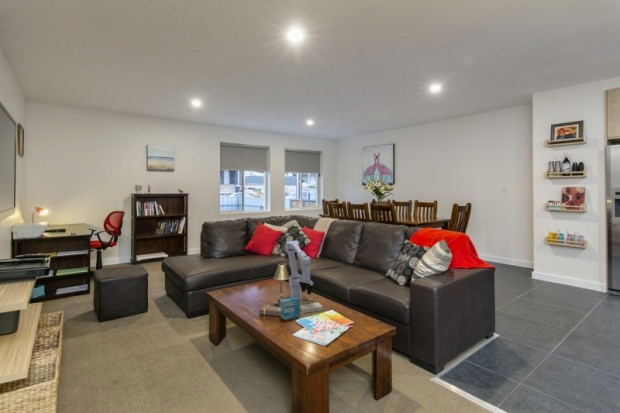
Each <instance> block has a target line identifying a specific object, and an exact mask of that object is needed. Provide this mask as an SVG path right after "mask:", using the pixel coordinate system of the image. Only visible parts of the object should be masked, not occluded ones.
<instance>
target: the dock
mask: <svg viewBox="0 0 620 413" xmlns="http://www.w3.org/2000/svg"><path fill="white" fill-rule="evenodd" d="M321 311H324V307H323V305H321V303H320V302H314V303H311V304H304V305H300V312H302V313H303V314H306V313H307V314H308V313H313V312H315V313H316V312H321Z"/></svg>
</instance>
